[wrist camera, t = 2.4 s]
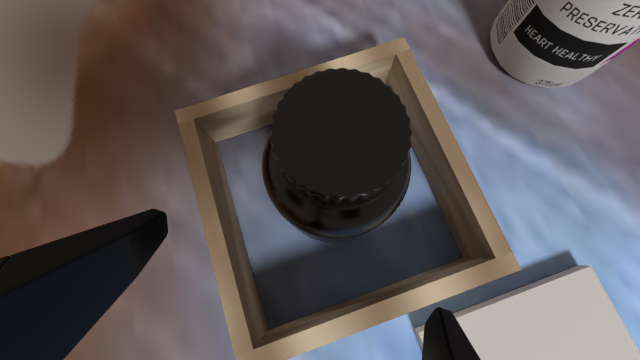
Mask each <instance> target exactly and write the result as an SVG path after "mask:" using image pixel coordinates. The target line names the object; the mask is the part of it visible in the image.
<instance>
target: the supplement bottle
mask: <svg viewBox="0 0 640 360" xmlns="http://www.w3.org/2000/svg"><path fill="white" fill-rule="evenodd" d="M410 121H411V119H410V118H409V116H408V115H407V110H406V107H405V106H404V105H403V104H402V103H401V100H400V97H399V96H398V95H397V94H396V93H394V92H393V90H392V88H391V87H390V86H389V85H386V84H384V83H383V81H382V80H381V79H380V78H376V77H373V76H372V75H371V74H370V73H367V72H360V71H359V70H357V69H350V70H348V69H346V68H339V69H332V68H329V69H327V70H325V71H316V72H315V73H313V74H312V75H309V76H305V77H304V78H303V79H302V80H301V81H299V82H296V83H294V84H293V86H292V88H291V89H290V90H288V91H286V92H285V93H284V96H283V99H282V100H280V101H279V102H278V104H277V110H276V111H275V112H274V114H273V123H272V125H271V127H270V130H271V133H270V135H269V137H268V139H267V142H266V145H265V148H264V152H263V159H262V172H263V179H264V183H265V187H266V190H267V192H268V195H269V197H270V199H271V201H272V202H273V204H274V205H275V207H276V208H277V210H278V211H279V212H280V213H281V215H282V216H283V217H284V218H285V219H286V220H287V221H289V222H290V223H291V224H292V225H293V226H295V227H296V228H297V229H298V230H300V231H301V232H302V233H304V234H305V235H307V236H309V237H310V238H313V239H315V240H318V241H322V242H329V243H336V242H343V241H347V240H350V239H353V238H355V237H358V236H360V235H363V234H365V233H367V232H370V231H371V230H373V229H375V228H377V227H378V226H379V225H381V224H382V223H384V222H385V221H386V220H387V219H388V218H389V217H390V216H391V215H392V214H393V213H394V212H395V211H396V209H397V208H398V207H399V205H400V204H401V202H402V200H403V198H404V196H405V194H406V191H407V189H408V185H409V181H410V175H411V158H410V152H409V150H410V148H411V140H410V138H411V136H412V130H411V128H410Z"/></svg>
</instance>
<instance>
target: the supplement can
mask: <svg viewBox="0 0 640 360" xmlns="http://www.w3.org/2000/svg"><path fill="white" fill-rule="evenodd" d="M490 39H491V48H492V50H493V52H494V55H495V56H496V58H497V60H498V62H499V64H500V66H501V67H502V68H503V69H504V70H505V71H506V72H507V73H508V74H510V75H511V76H512V77H514V78H516V79H518V80H520V81H522V82H524V83H526V84H530V85H534V86H539V87H544V88H558V87H567V86H570V85H572V84H574V83H576V82H578V81H580V80H582V79H584V78H585V77H587V76H588V75H590V74H591V73H593V72H594V71H596V70H597V69H598V68H600V67H601V66H603V65H604V64H606V63H607V62H609V61H610V60H612V59H613V58H615V57H616V56H617V55H619V54H620V53H622V52H623V51H625V50H626V49H628V48H629V47H631V46H632V45H634V44H635V43H636V42H638V41H639V40H640V0H508V2H507V3H506V4H505V6H504V7H503V9H502V10H501V11H500V13H499V14H498V16H497V17H496V18H495V20H494V23H493V26H492V29H491V32H490Z"/></svg>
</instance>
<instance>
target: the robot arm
mask: <svg viewBox="0 0 640 360" xmlns="http://www.w3.org/2000/svg"><path fill="white" fill-rule="evenodd" d="M167 233H168V224H167V215H166V213H165V212H163V211H160V210H157V209H150V210H147V211H144V212H141V213H138V214H135V215H132V216H129V217H126V218H123V219H120V220H117V221H114V222H111V223H107V224H104V225H101V226H98V227H95V228H92V229H89V230H86V231H83V232H80V233H77V234H74V235H71V236H68V237H65V238H62V239H59V240H55V241H52V242H49V243H46V244H43V245H40V246H37V247H34V248H31V249H28V250H25V251H22V252H19V253H16V254H13V255H11V256H6V257H3V258H0V360H63V359H64V358H65V357H66V356H67V355H68V354H69V353H70V352H71V350H72V349H73V348H74V347H75V346H76V345H77V344H78V343H79V341H80V340H81V339H82V338H83V337H84V336H85V335H86V334H87V332H88V331H89V330H90V329H91V328H92V327H93V326H94V325H95V323H96V322H97V321H98V320H99V319H100V318H101V317H102V316H103V314H104V313H105V312H106V311H107V310H108V309H109V308H110V307H111V305H112V304H113V303H114V302H115V301H116V300H117V299H118V298H119V296H120V295H121V294H122V293H123V292H124V291H125V290H126V289H127V287H128V286H129V285H130V284H131V283H132V282H133V281H134V279H135V278H136V277H137V276H138V275H139V273H140V272H141V271H142V269H143V268H144V267H145V265H146V264H147V263H148V261H149V260H150V258H151V257H152V256H153V254H154V253H155V252H156V250H157V249H158V247H159V246H160V245H161V243H162V242H163V241H164V239H165V238H166V236H167ZM422 360H481V359H480V357H479V356H478V354H477V352H476V351H475V349H474V347H473V346H472V344H471V342H470V341H469V339H468V338H467V336H466V334H465V333H464V331H463V329H462V328H461V326H460V324H459V323H458V321H457V319H456V318H455V316H454V314H453V313H452V312H451V311H449V310H446V309H443V308H440V307H437V308H436V309H435V310H434V311H433V313H432V314H431V316H430V317H429V318H428V320H427V321H426V323H425V326H424V336H423V350H422Z"/></svg>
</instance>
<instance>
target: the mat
mask: <svg viewBox="0 0 640 360" xmlns="http://www.w3.org/2000/svg"><path fill="white" fill-rule="evenodd" d="M453 314H454V316H455V318H456V319H457V321H458V323H459V324H460V326H461V328H462V329H463V331H464V333H465V334H466V336H467V338H468V339H469V341H470V342H471V344H472V346H473V347H474V349H475V351H476V352H477V354H478V356H479V357H480V359H481V360H640V352H639V350H638V348H637V347H636V345H635V343H634V341H633V339H632V338H631V336H630V334H629V332H628V331H627V329H626V327H625V325H624V324H623V322H622V320H621V318H620V316H619V315H618V313H617V311H616V309H615V308H614V306H613V304H612V302H611V301H610V299H609V297H608V295H607V294H606V292H605V290H604V288H603V286H602V285H601V283H600V281H599V279H598V278H597V276H596V274H595V272H594V271H593V269H592V267H591V266H583V265H577V266H575V267H572V268H569V269H567V270H564V271H562V272H559V273H556V274H554V275H551V276H549V277H546V278H543V279H541V280H538V281H536V282H533V283H531V284H528V285H525V286H523V287H520V288H518V289H515V290H512V291H510V292H507V293H505V294H502V295H499V296H497V297H494V298H492V299H489V300H486V301H484V302H481V303H479V304H476V305H474V306H471V307H468V308H466V309H463V310H461V311H458V312H455V313H453ZM424 326H425V324H424V325H422V326H419V327H417V328H414V331H415V333H416V336H417V339H418V341H419V344H420V346H421V349H422V350H423V336H424Z"/></svg>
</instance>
